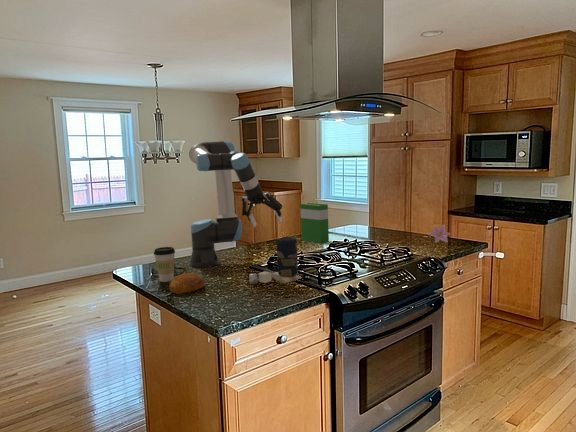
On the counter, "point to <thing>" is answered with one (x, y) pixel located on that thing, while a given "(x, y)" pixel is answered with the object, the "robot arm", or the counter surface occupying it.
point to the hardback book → (314, 223)
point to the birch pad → (284, 278)
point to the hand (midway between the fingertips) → (268, 223)
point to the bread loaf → (186, 283)
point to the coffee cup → (165, 263)
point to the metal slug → (253, 278)
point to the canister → (287, 256)
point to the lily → (439, 234)
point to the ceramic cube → (265, 277)
